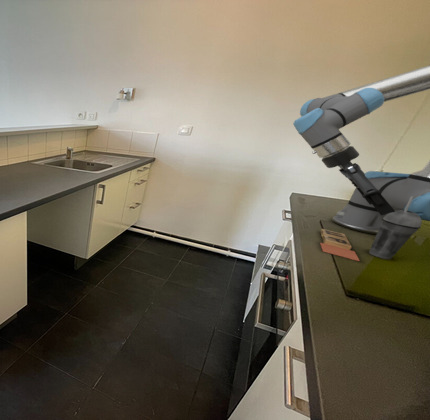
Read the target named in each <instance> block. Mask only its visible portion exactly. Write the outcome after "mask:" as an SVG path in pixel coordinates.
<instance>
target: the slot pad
mask: <svg viewBox="0 0 430 420" xmlns="http://www.w3.org/2000/svg"><path fill="white" fill-rule="evenodd" d="M319 244H320V247H321V251H322V252H323V253H325V254H331V255H333V256H338V257H341V258H344V259H349V260H352V261H356V262H360V258H359V257H358V255H357V253H356V252H355V251H354V250H351V249H350V250H347V249H343V248H339V247H336V246H332V245H328V244H324V242H320V243H319Z"/></svg>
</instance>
